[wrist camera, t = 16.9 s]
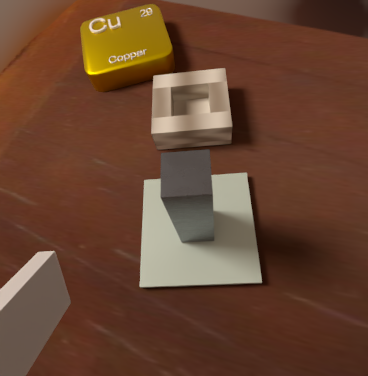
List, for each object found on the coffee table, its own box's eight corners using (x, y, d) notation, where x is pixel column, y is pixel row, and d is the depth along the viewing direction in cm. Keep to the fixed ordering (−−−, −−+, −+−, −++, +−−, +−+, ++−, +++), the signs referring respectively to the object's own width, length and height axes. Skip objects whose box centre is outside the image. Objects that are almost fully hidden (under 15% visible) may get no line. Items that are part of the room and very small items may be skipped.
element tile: (95, 96, 48) (83, 74, 43) (88, 42, 54) (77, 18, 50) (178, 74, 48) (174, 50, 43) (161, 23, 54) (156, -2, 50)
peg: (212, 210, 35) (209, 149, 22) (214, 240, 33) (212, 193, 20) (180, 212, 35) (161, 153, 23) (181, 242, 33) (160, 197, 21)
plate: (245, 176, 37) (246, 172, 37) (260, 283, 31) (262, 282, 30) (145, 183, 39) (144, 180, 38) (141, 287, 33) (139, 287, 32)
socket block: (224, 88, 45) (225, 68, 41) (230, 143, 40) (232, 126, 36) (158, 94, 46) (153, 75, 42) (157, 149, 41) (151, 133, 37)
